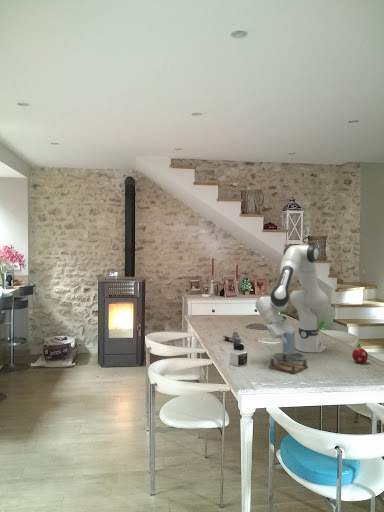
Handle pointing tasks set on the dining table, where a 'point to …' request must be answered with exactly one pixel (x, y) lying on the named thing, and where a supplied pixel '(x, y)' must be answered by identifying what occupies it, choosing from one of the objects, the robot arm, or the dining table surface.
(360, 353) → the christmas ornament
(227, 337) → the sculpture
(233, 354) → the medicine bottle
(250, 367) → the dining table surface
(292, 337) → the blue block
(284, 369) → the peg board
